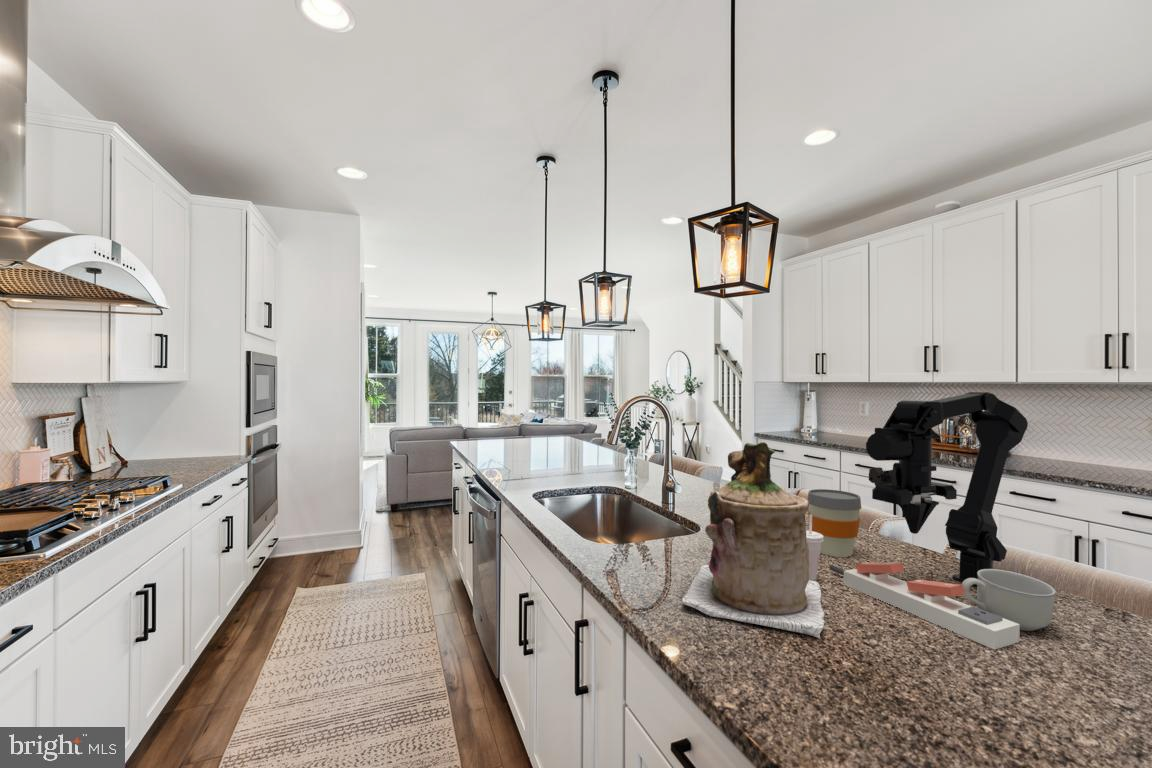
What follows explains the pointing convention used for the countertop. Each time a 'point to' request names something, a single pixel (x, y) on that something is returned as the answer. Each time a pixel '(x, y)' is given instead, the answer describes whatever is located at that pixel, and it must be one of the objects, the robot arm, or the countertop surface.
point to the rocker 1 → (879, 567)
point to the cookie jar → (758, 552)
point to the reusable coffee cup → (835, 520)
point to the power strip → (935, 608)
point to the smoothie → (813, 549)
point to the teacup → (1013, 597)
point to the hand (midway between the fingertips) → (914, 533)
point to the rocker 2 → (936, 588)
